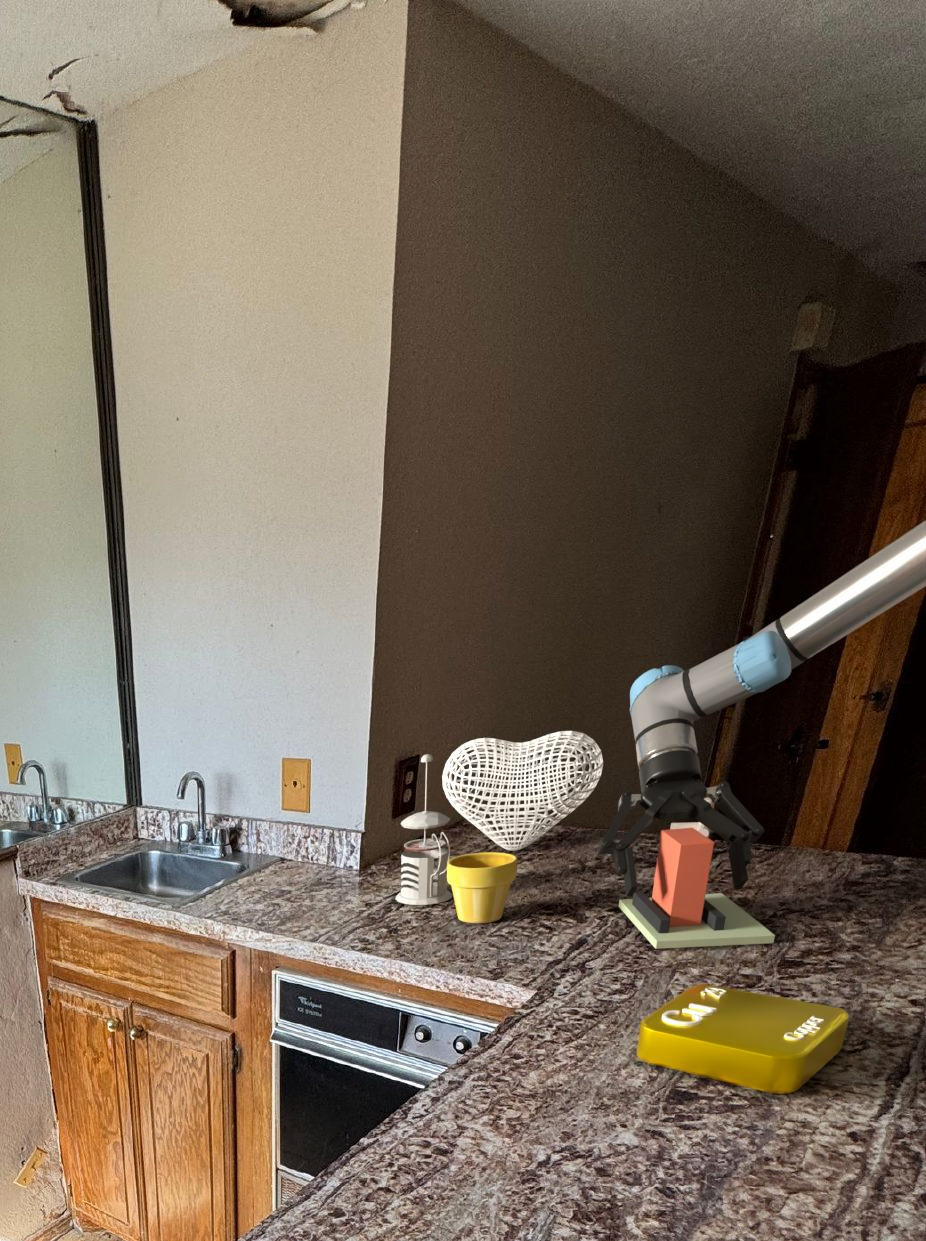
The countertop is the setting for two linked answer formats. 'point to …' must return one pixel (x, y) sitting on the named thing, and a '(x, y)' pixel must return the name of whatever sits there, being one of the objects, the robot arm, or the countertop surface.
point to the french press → (425, 859)
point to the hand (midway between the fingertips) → (685, 888)
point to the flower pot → (481, 884)
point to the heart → (530, 745)
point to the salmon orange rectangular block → (682, 875)
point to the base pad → (717, 925)
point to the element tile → (743, 1037)
